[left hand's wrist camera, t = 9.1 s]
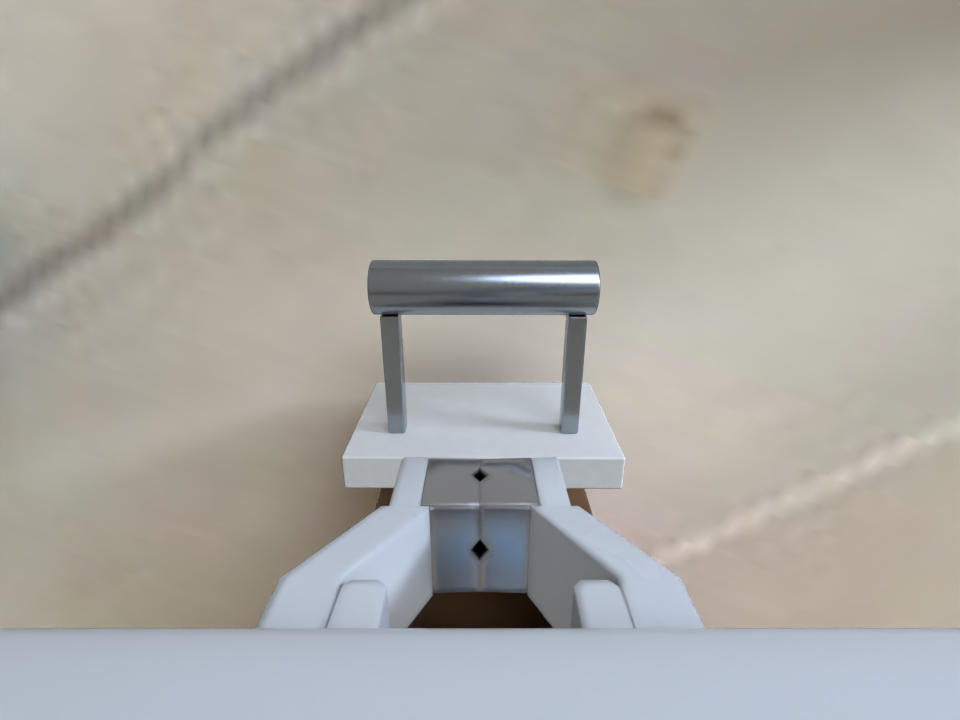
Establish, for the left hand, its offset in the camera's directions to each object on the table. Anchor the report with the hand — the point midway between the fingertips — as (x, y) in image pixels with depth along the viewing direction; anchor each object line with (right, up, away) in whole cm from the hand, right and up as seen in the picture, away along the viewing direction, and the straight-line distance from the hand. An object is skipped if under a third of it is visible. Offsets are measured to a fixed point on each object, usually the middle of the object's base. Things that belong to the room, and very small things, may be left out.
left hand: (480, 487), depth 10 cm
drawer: (0, -3, +14) cm, 14 cm away
